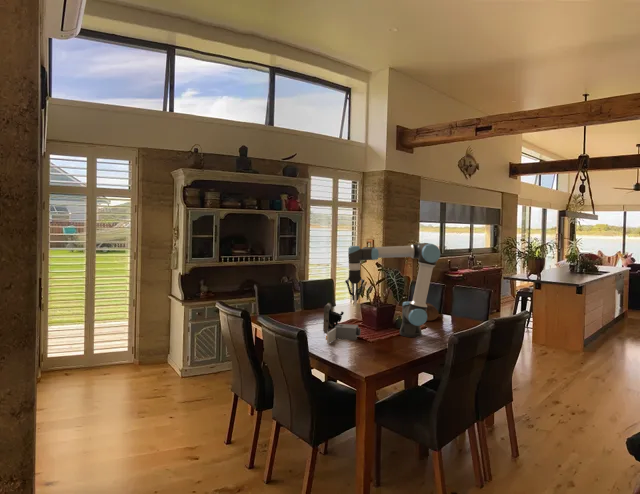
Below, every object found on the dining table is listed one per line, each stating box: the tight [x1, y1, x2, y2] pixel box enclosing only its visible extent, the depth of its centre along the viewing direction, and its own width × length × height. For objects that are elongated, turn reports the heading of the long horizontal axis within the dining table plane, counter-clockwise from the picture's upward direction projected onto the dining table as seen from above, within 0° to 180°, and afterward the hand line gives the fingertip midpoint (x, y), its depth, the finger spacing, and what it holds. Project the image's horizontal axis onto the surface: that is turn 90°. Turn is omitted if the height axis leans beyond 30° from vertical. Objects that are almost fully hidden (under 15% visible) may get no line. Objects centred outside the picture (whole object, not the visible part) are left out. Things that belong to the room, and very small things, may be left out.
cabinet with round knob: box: [335, 323, 362, 341], centre depth 286 cm, size 16×9×9 cm, turn 75°
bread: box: [426, 301, 439, 322], centre depth 347 cm, size 26×27×13 cm
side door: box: [325, 328, 337, 345], centre depth 277 cm, size 14×2×7 cm, turn 157°
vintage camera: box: [322, 302, 344, 334], centre depth 301 cm, size 10×16×20 cm, turn 78°
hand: (355, 305), depth 280 cm, fingers closed
